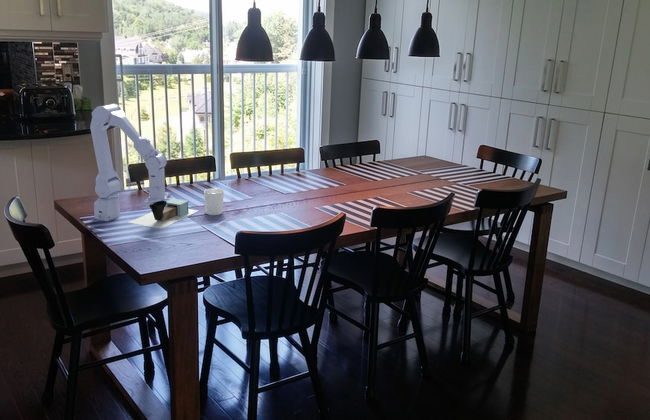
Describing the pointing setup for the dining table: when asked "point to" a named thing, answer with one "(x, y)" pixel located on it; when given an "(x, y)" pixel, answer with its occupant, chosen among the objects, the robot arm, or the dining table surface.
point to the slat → (169, 213)
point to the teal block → (179, 206)
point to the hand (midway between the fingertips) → (158, 219)
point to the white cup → (213, 201)
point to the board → (151, 222)
